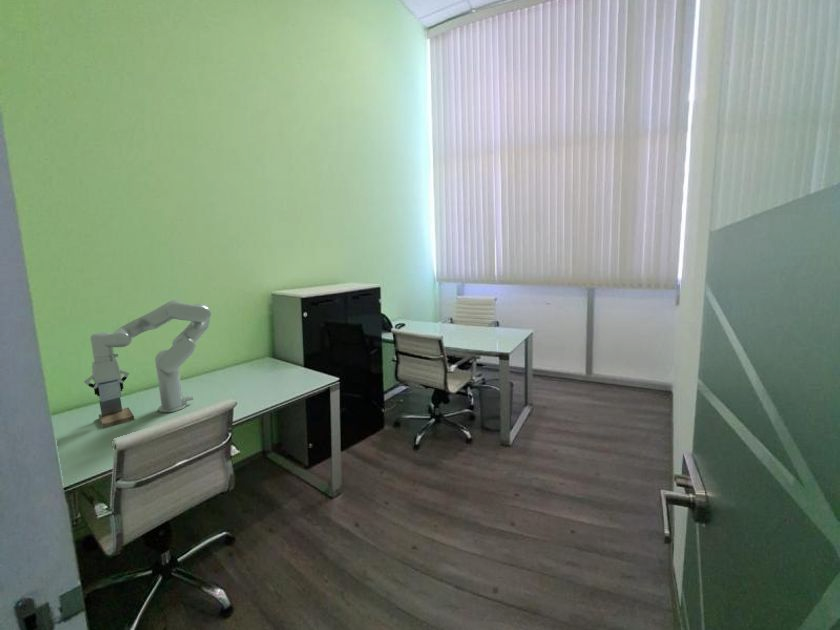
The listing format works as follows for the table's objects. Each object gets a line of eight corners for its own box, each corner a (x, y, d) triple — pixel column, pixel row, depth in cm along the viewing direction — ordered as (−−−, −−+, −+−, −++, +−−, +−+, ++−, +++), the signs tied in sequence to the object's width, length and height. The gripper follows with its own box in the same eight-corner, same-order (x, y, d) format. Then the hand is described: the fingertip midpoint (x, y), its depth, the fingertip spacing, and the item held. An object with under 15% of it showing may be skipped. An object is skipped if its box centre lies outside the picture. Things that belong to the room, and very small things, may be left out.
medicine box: (119, 394, 187) (117, 378, 185) (121, 397, 184) (119, 380, 182) (99, 399, 181) (96, 382, 179) (101, 402, 178) (98, 384, 177)
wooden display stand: (128, 410, 196) (126, 392, 194) (134, 419, 186) (131, 400, 184) (99, 418, 187) (95, 399, 185) (103, 428, 178) (99, 408, 176)
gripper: (125, 353, 187) (130, 386, 191) (79, 360, 175) (85, 395, 178) (128, 356, 182) (133, 390, 186) (80, 364, 170) (87, 400, 173)
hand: (109, 392), depth 182 cm, fingers closed on medicine box, 8 cm apart
